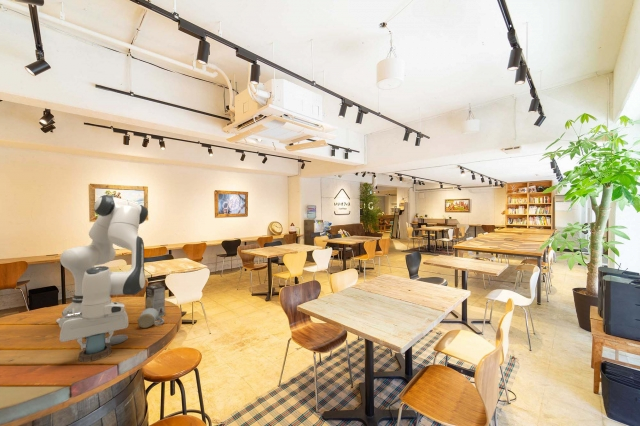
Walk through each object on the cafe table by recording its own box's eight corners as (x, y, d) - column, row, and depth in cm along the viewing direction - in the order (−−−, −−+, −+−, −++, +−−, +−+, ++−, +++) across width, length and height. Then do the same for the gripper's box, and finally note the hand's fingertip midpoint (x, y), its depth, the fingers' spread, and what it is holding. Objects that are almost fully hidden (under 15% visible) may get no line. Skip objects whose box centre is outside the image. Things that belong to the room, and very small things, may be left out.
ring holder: (73, 359, 99) (73, 353, 99) (100, 347, 108) (100, 342, 108) (89, 363, 96) (89, 357, 96) (116, 351, 105) (116, 346, 105)
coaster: (96, 343, 112) (96, 342, 112) (118, 335, 120) (118, 333, 120) (110, 347, 109) (110, 345, 109) (132, 337, 117) (132, 336, 117)
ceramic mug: (136, 330, 125) (137, 313, 126) (140, 323, 133) (141, 308, 133) (162, 327, 129) (162, 311, 130) (165, 321, 137) (165, 306, 137)
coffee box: (144, 316, 144) (144, 286, 145) (156, 312, 150) (157, 284, 150) (152, 319, 139) (153, 288, 140) (165, 315, 145) (165, 286, 145)
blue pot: (105, 355, 102) (105, 334, 102) (85, 360, 98) (86, 338, 98) (104, 346, 109) (104, 327, 109) (85, 351, 105) (86, 330, 105)
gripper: (58, 318, 93) (57, 358, 93) (129, 305, 107) (128, 340, 106) (59, 313, 98) (58, 351, 98) (127, 302, 111) (126, 335, 111)
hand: (95, 345), depth 102 cm, fingers closed on blue pot, 6 cm apart
